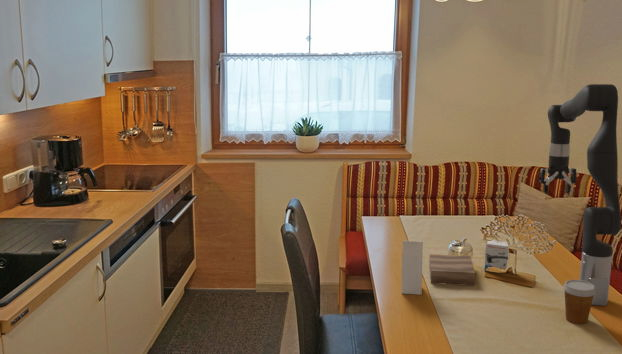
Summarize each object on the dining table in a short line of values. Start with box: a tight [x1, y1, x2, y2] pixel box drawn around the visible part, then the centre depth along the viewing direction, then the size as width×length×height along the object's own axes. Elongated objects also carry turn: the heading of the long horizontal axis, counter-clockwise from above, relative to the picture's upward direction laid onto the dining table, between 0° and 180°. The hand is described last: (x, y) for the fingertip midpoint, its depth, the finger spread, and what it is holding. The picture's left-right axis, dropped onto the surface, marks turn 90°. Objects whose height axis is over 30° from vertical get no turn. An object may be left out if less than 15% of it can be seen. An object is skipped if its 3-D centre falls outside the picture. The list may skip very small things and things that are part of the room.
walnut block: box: [429, 254, 476, 286], centre depth 221 cm, size 18×16×5 cm
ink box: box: [484, 239, 508, 271], centre depth 224 cm, size 8×5×12 cm, turn 62°
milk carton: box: [401, 240, 424, 296], centre depth 206 cm, size 7×7×19 cm
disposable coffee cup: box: [562, 279, 596, 325], centre depth 182 cm, size 10×10×12 cm
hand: (556, 193), depth 232 cm, fingers open, 8 cm apart
